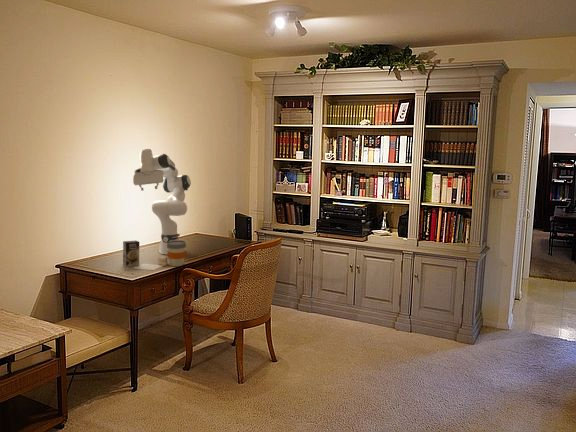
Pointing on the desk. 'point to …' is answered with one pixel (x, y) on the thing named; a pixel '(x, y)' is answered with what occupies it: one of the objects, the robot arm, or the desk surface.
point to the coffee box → (130, 253)
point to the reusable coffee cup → (176, 252)
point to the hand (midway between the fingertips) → (149, 189)
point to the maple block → (162, 260)
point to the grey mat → (148, 267)
